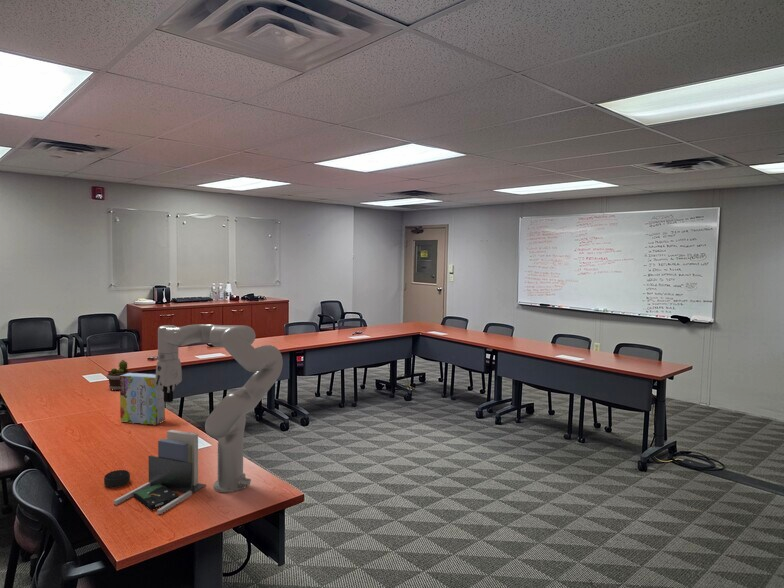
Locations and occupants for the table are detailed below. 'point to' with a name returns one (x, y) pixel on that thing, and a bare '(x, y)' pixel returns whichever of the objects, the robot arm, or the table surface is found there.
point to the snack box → (141, 399)
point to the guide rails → (161, 507)
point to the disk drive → (155, 496)
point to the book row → (181, 449)
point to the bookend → (172, 474)
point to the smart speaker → (116, 478)
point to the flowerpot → (117, 375)
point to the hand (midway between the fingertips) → (168, 401)
